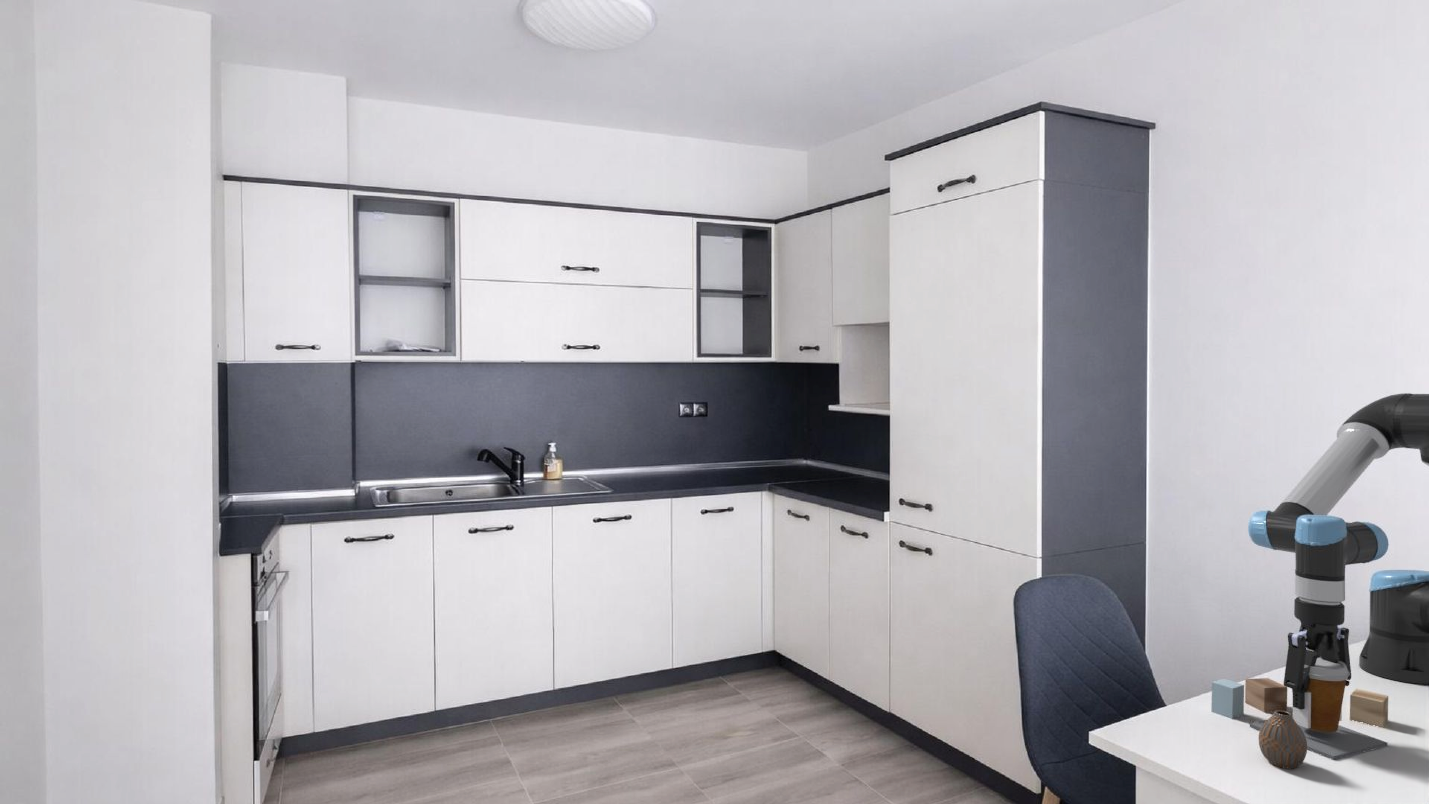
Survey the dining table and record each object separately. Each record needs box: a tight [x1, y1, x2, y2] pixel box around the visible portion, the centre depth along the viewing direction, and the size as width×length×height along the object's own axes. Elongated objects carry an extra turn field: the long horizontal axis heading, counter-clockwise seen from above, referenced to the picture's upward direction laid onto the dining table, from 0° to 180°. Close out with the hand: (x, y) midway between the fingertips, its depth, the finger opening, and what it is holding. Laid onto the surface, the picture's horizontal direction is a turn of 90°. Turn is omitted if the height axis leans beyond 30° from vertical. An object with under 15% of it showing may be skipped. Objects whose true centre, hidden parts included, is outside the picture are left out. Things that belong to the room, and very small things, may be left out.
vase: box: [1258, 710, 1308, 769], centre depth 144 cm, size 7×7×9 cm
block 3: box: [1349, 688, 1389, 729], centre depth 162 cm, size 5×5×5 cm
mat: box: [1249, 713, 1388, 761], centre depth 155 cm, size 15×15×1 cm
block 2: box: [1244, 677, 1288, 713], centre depth 168 cm, size 5×5×5 cm
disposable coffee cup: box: [1291, 656, 1350, 732], centre depth 155 cm, size 10×10×12 cm
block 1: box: [1210, 678, 1245, 720], centre depth 165 cm, size 4×6×4 cm
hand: (1317, 721), depth 155 cm, fingers closed on disposable coffee cup, 8 cm apart
